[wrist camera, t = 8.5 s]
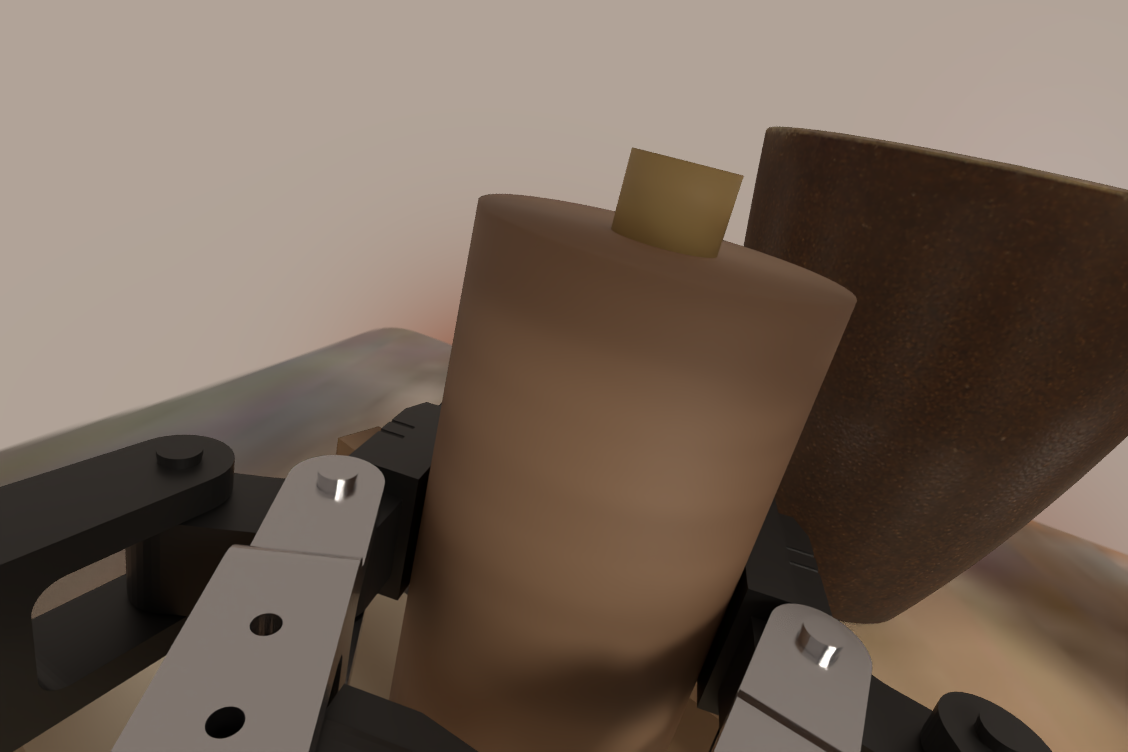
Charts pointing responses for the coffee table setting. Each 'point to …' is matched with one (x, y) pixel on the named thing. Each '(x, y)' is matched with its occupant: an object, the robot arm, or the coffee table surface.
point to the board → (91, 732)
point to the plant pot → (943, 353)
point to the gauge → (604, 460)
